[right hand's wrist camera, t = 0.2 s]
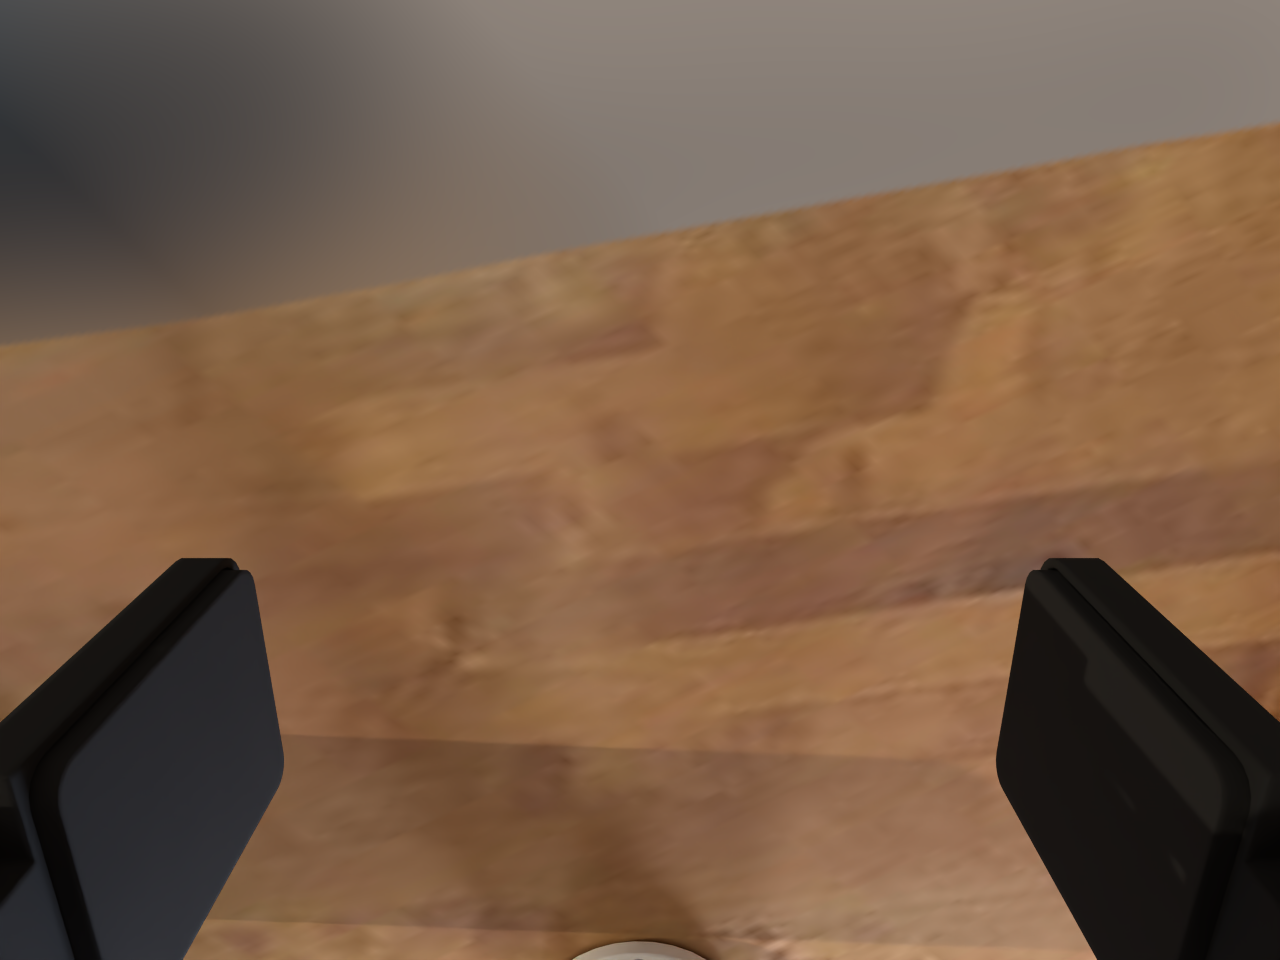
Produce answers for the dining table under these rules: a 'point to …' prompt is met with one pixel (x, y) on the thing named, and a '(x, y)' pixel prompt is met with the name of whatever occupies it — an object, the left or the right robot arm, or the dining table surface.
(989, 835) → the dining table surface
